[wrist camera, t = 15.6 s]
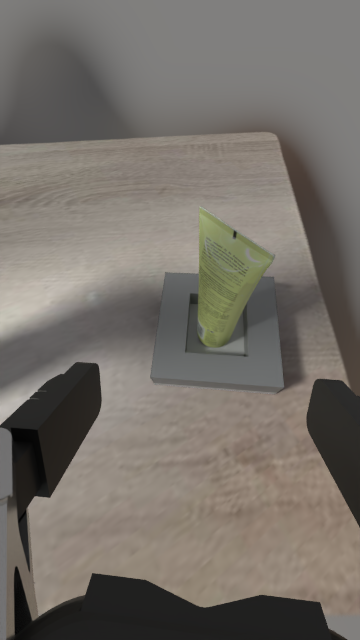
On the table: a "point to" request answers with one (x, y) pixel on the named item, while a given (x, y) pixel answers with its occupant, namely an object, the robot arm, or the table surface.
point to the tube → (225, 277)
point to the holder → (223, 362)
